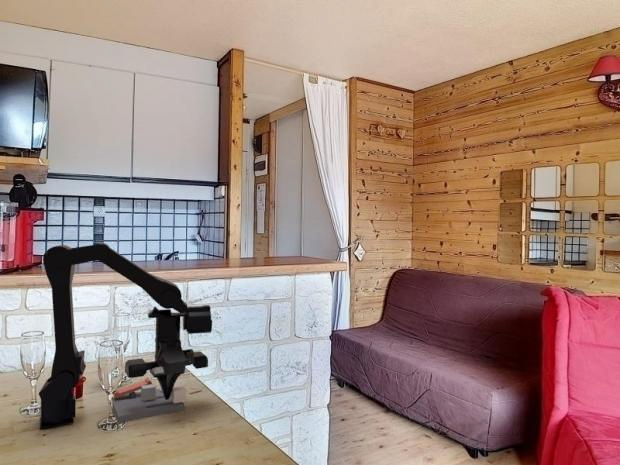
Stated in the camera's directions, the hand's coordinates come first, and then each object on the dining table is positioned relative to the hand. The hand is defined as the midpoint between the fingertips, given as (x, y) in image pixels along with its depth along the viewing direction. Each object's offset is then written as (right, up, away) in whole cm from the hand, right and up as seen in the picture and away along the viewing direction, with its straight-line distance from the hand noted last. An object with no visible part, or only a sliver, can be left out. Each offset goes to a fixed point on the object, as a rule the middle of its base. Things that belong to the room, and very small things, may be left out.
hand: (166, 399), depth 112 cm
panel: (-6, -3, +2) cm, 7 cm away
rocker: (-10, +1, +4) cm, 11 cm away
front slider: (+2, -1, +2) cm, 3 cm away
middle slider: (-5, -1, +3) cm, 6 cm away
